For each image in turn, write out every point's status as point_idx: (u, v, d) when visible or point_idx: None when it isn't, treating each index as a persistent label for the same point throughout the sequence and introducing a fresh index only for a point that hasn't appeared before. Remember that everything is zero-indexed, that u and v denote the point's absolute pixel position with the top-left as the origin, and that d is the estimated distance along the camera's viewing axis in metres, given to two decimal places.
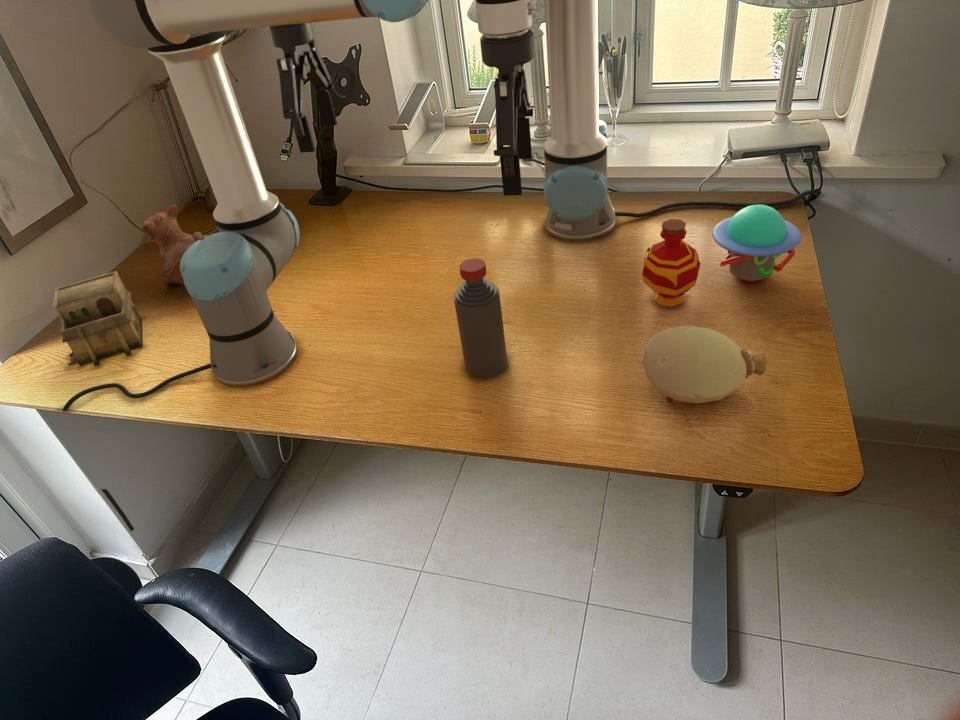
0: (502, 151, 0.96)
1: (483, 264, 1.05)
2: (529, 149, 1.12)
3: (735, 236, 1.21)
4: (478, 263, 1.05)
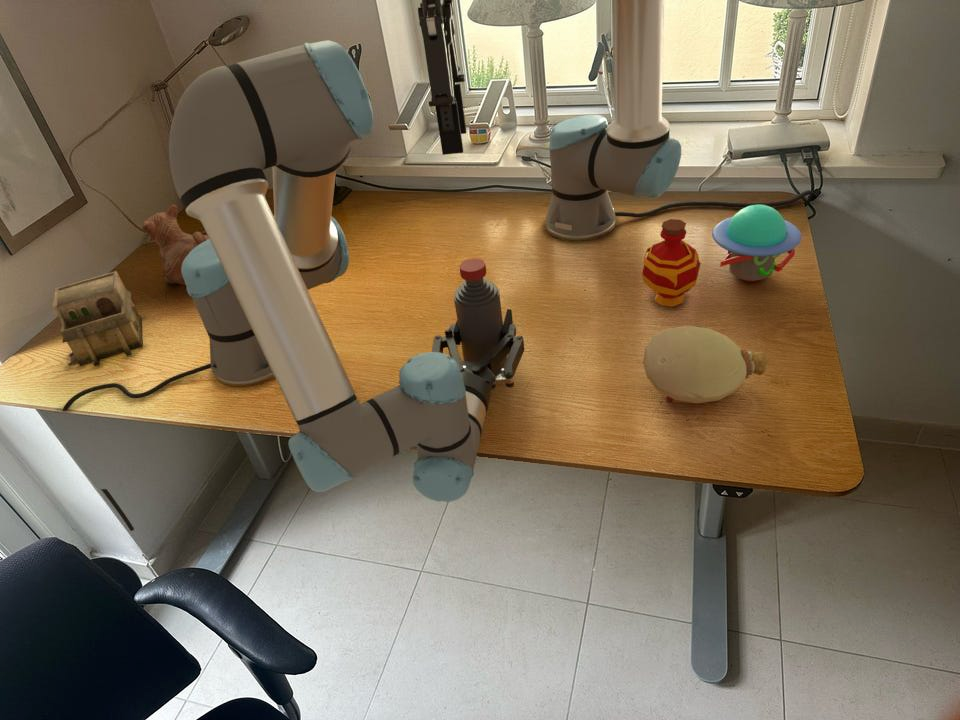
0: None
1: (483, 264, 1.05)
2: None
3: (735, 236, 1.21)
4: (478, 263, 1.05)
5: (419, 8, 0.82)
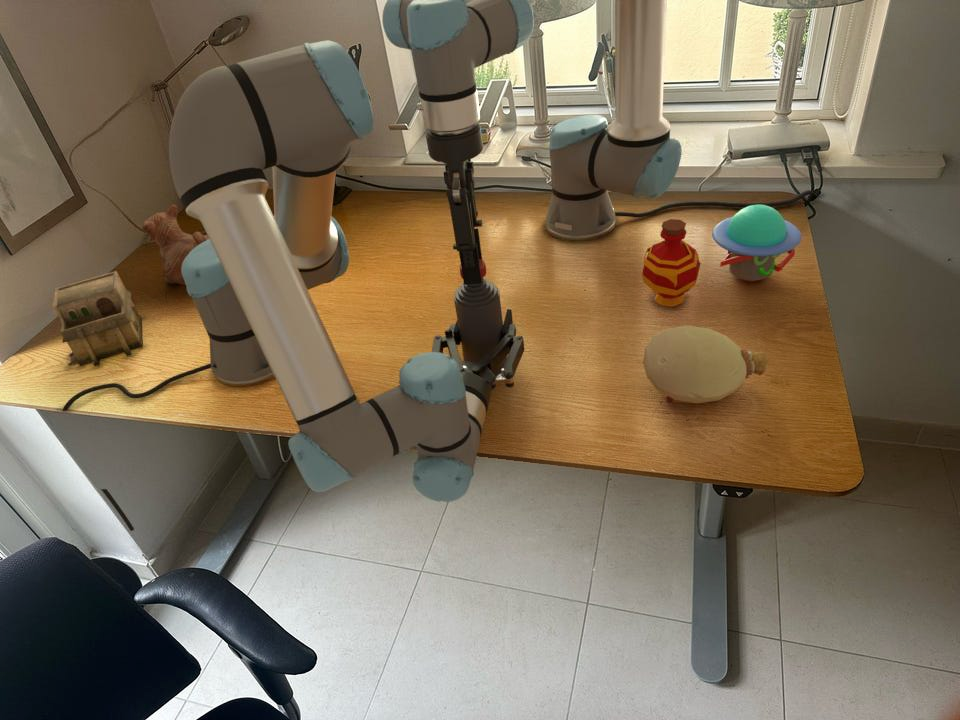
0: None
1: (483, 264, 1.05)
2: None
3: (735, 236, 1.21)
4: None
5: (445, 173, 0.94)
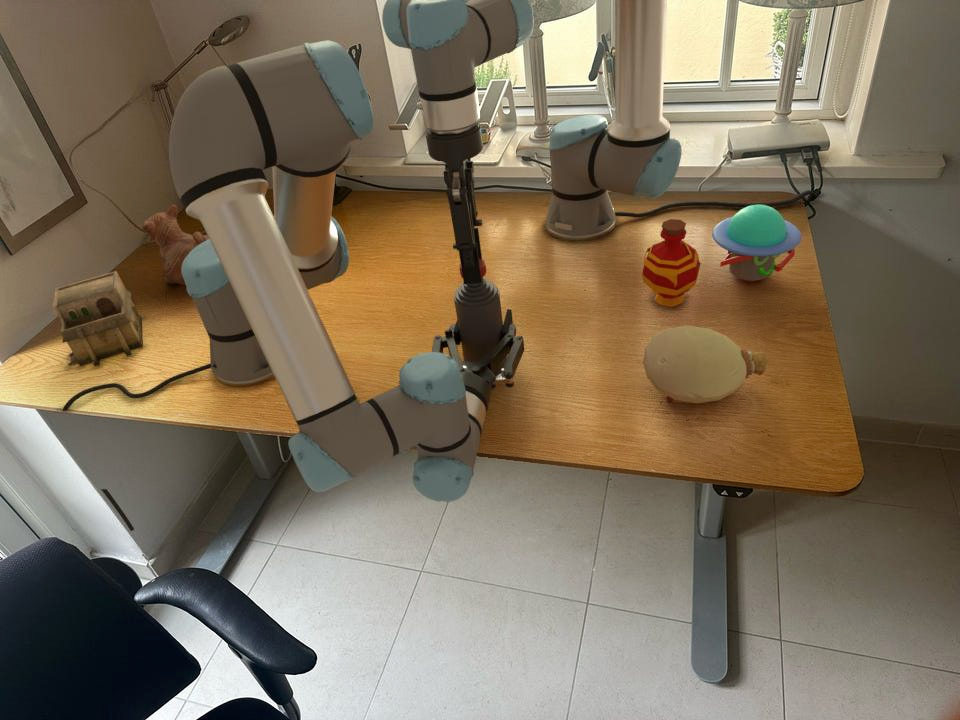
0: None
1: None
2: None
3: (735, 236, 1.21)
4: None
5: (444, 172, 0.94)
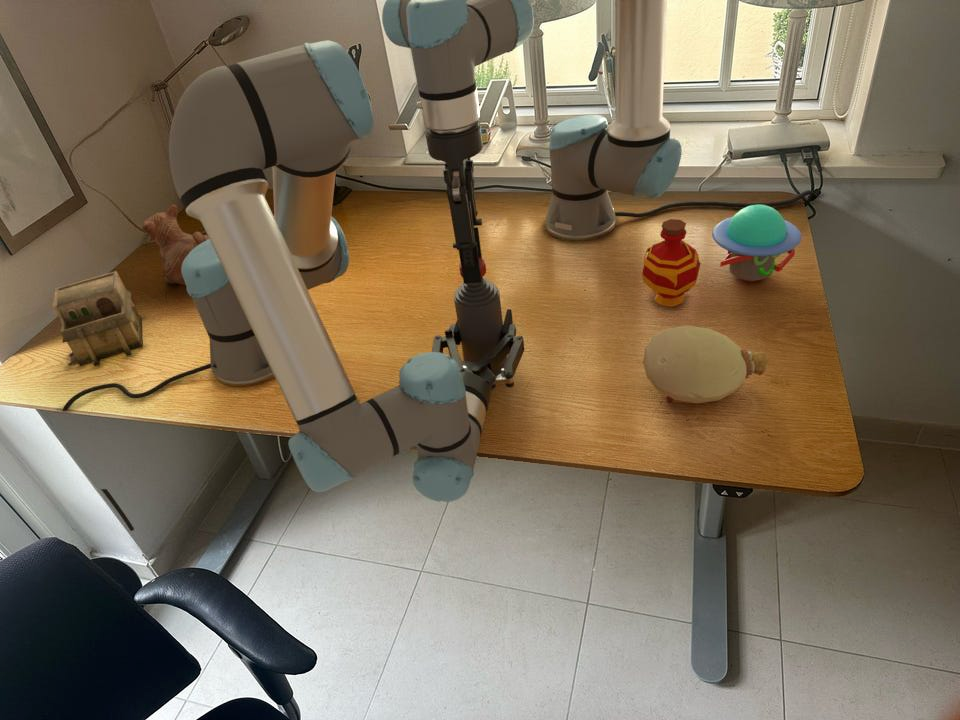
0: None
1: None
2: None
3: (735, 236, 1.21)
4: None
5: (444, 172, 0.94)
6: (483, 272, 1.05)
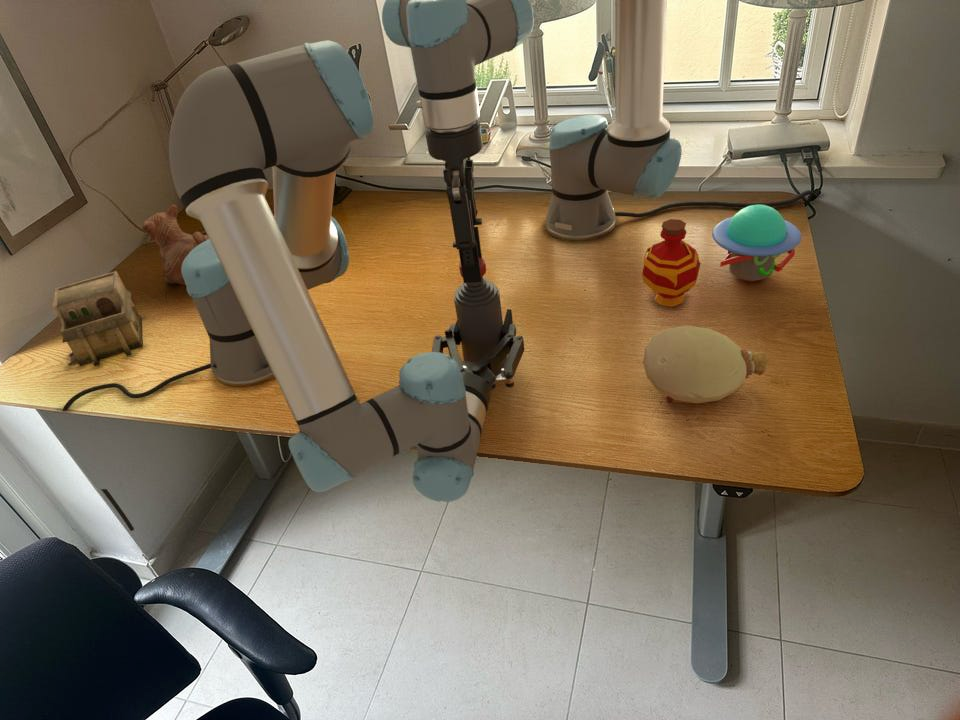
0: None
1: (480, 265, 1.04)
2: None
3: (735, 236, 1.21)
4: None
5: (444, 171, 0.94)
6: None
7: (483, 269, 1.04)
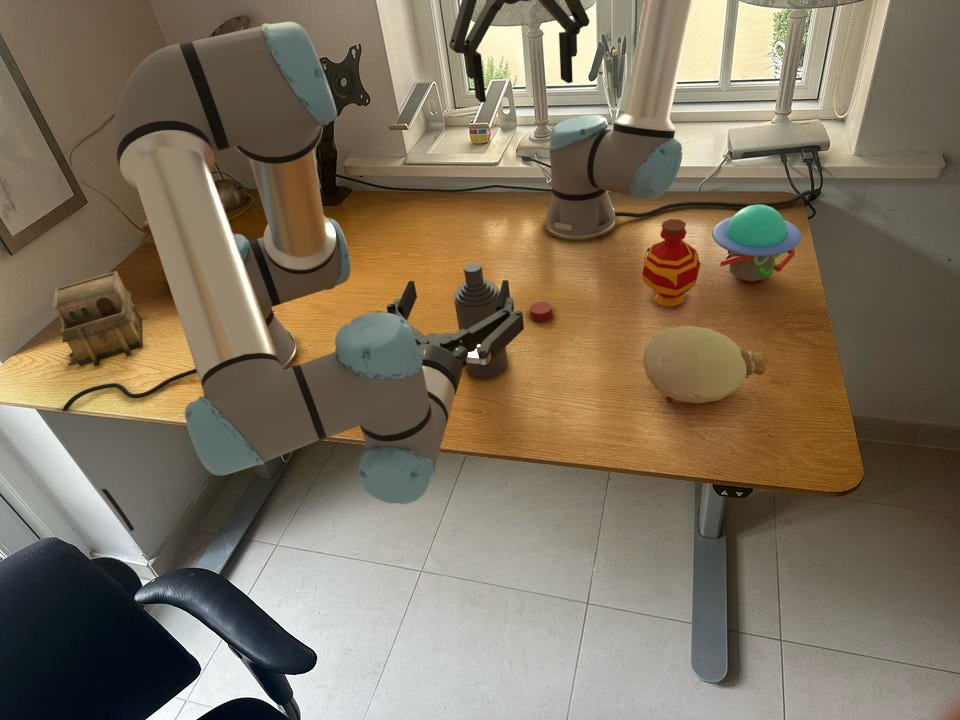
0: None
1: (542, 302, 1.27)
2: None
3: (735, 236, 1.21)
4: (539, 304, 1.26)
5: None
6: (530, 314, 1.26)
7: None
